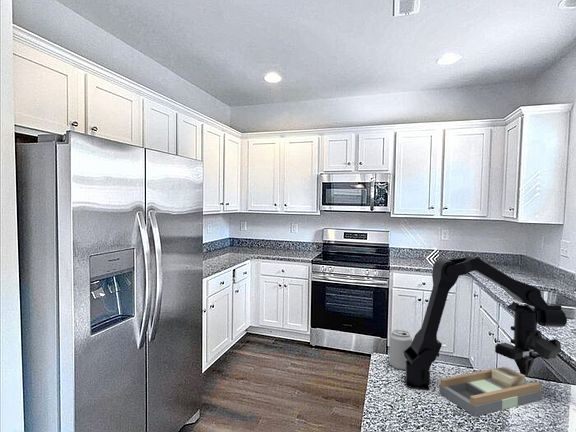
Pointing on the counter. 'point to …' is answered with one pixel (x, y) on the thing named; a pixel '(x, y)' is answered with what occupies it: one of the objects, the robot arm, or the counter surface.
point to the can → (399, 348)
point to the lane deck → (486, 393)
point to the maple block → (507, 377)
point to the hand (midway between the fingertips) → (524, 376)
